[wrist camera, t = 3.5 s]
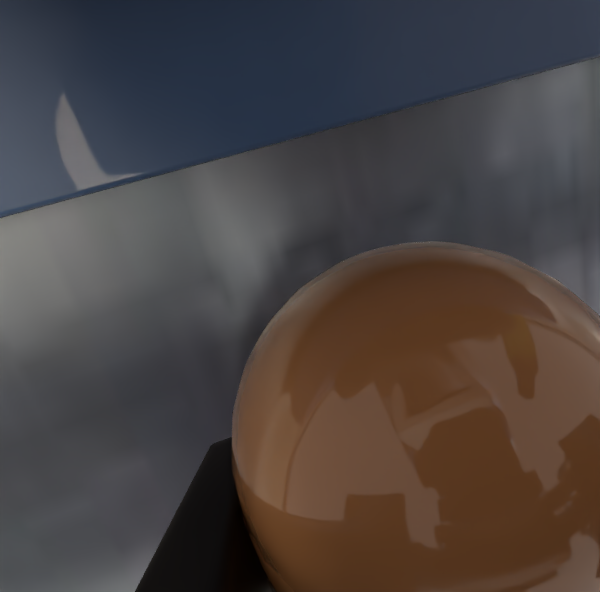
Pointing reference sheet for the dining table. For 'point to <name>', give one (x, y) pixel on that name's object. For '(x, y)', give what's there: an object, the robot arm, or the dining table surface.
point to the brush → (241, 76)
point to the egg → (424, 429)
